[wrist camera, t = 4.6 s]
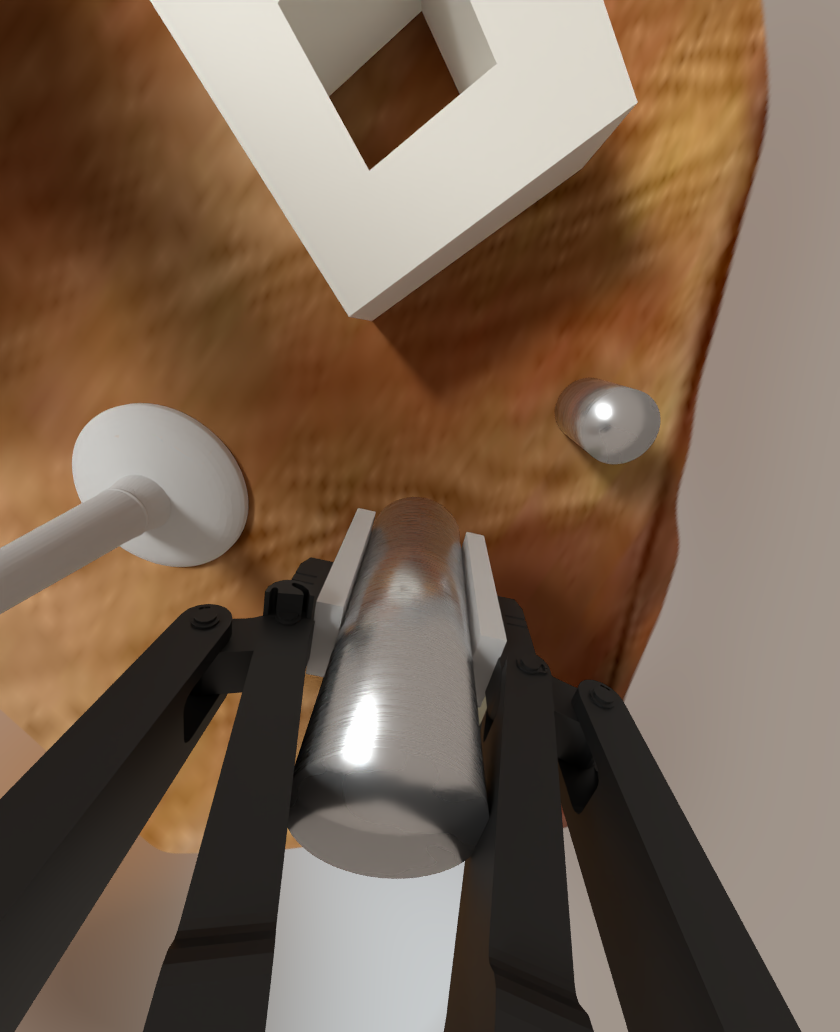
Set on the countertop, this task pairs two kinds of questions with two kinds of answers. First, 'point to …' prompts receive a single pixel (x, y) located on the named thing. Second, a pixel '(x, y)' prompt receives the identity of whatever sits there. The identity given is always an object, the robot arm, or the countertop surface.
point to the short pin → (608, 419)
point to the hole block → (431, 149)
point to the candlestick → (135, 500)
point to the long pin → (397, 712)
